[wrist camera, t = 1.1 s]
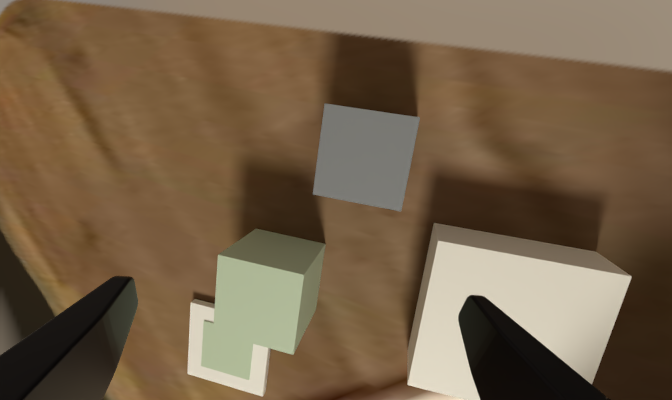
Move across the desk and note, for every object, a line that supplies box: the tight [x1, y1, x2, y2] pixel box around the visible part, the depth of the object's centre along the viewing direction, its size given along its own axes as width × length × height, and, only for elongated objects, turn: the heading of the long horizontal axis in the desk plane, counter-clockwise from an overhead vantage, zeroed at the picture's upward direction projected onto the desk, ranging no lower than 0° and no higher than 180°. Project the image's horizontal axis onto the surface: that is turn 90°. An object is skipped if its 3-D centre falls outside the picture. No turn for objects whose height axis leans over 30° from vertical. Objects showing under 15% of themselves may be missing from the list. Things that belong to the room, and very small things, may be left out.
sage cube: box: [213, 229, 326, 355], centre depth 24 cm, size 6×6×6 cm
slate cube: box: [313, 104, 420, 211], centre depth 21 cm, size 5×5×5 cm
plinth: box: [407, 223, 632, 400], centre depth 22 cm, size 10×10×4 cm
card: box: [187, 299, 271, 397], centre depth 29 cm, size 7×7×1 cm
